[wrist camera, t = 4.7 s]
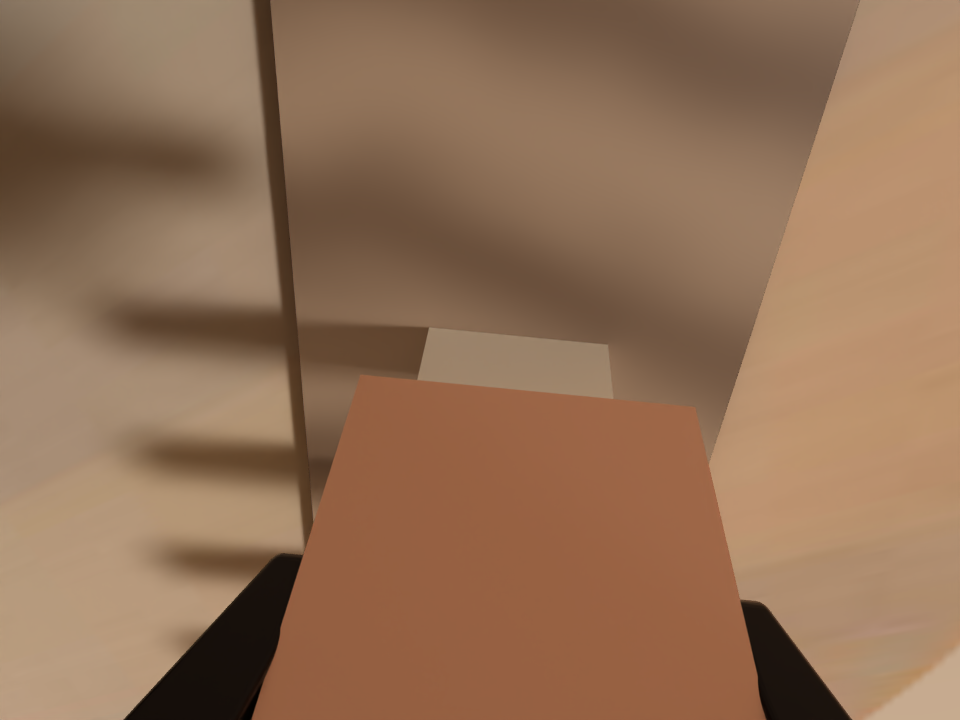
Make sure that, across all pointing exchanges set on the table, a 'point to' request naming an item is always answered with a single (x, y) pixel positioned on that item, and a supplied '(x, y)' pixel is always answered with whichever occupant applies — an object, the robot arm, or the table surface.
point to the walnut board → (542, 182)
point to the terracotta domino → (513, 566)
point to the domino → (516, 363)
